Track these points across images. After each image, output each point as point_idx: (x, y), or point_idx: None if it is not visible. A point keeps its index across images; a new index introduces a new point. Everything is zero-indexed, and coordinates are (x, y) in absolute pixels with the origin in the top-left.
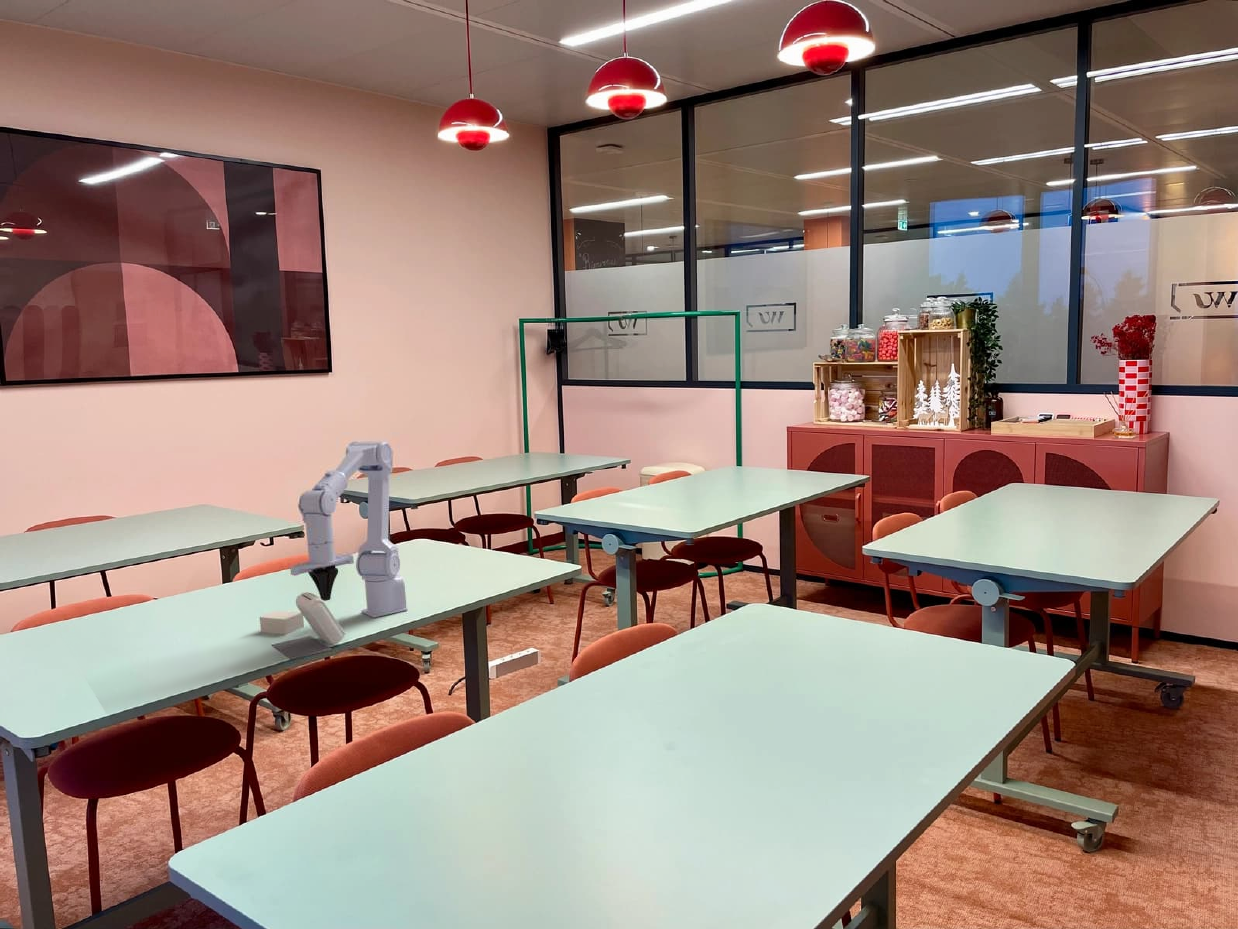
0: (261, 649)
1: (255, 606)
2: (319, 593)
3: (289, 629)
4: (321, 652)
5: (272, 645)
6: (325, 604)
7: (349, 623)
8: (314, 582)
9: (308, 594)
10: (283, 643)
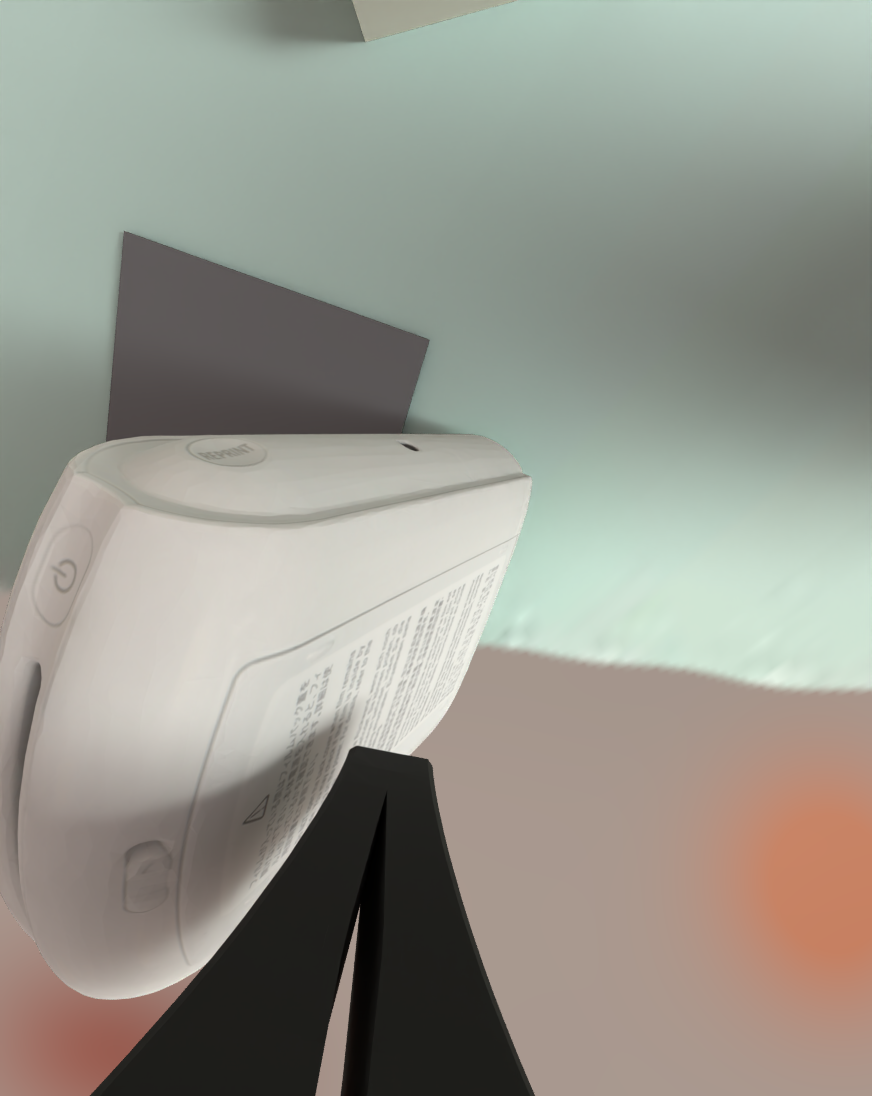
0: (33, 242)
1: None
2: (318, 814)
3: (404, 7)
4: None
5: (124, 252)
6: None
7: (829, 341)
8: (159, 1026)
9: (35, 905)
10: (198, 305)
